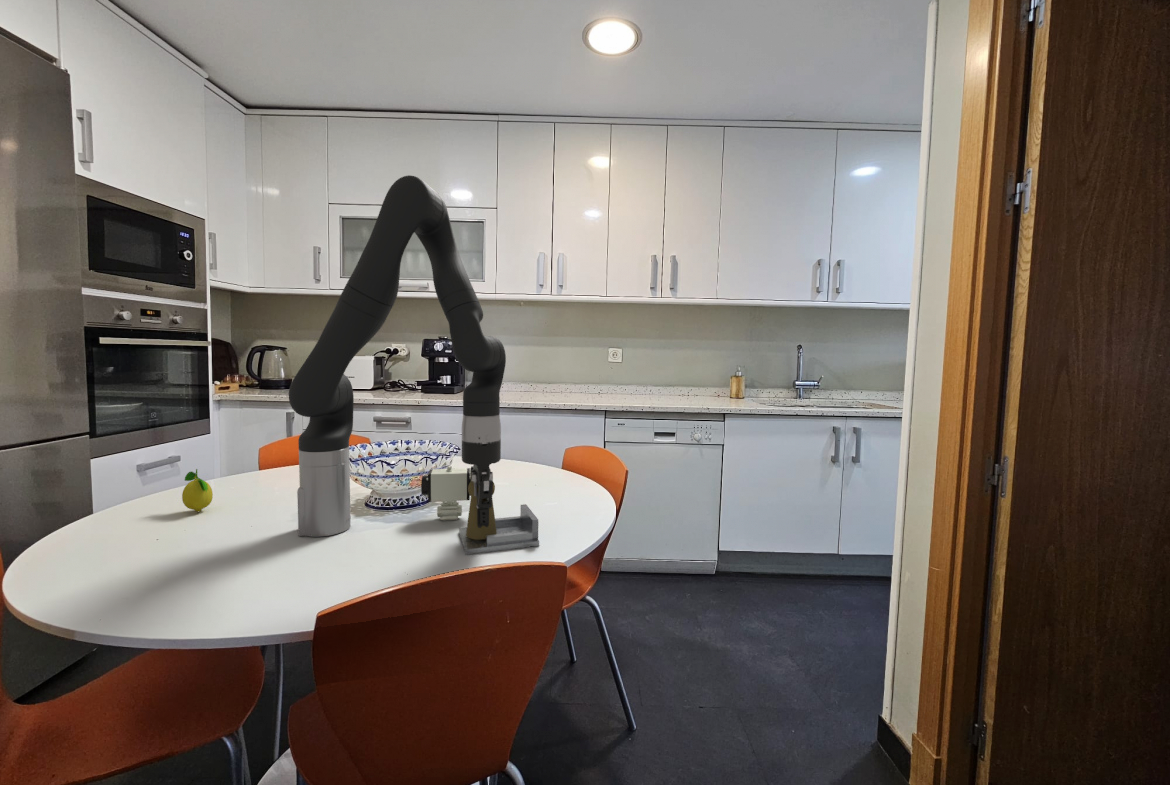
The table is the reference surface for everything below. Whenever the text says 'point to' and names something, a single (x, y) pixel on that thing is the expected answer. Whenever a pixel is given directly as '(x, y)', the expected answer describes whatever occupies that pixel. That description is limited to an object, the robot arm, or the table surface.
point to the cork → (472, 526)
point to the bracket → (506, 534)
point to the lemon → (196, 493)
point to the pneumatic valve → (447, 490)
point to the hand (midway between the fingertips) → (481, 522)
